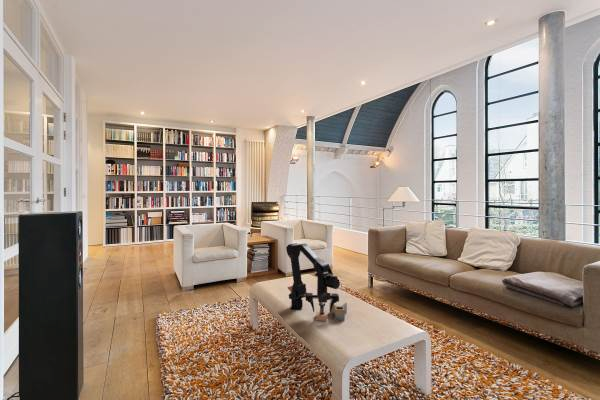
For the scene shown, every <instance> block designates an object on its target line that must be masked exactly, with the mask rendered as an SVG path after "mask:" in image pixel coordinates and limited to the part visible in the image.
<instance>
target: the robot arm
mask: <svg viewBox="0 0 600 400" xmlns="http://www.w3.org/2000/svg"><path fill="white" fill-rule="evenodd" d="M285 249H286V254H287V256H288V257H289V259H290V263H291V264H290V265H291V270H292V271H291V272H292V279H293V280H292V281H293V283H292V285H291V286H292V292H291V291H290V293H289V294H288V299H290V300H291V301H290V303H291V304H290V305H291V306H290V310H297V311H298V310H299V311H300V310H301V311H302V310H303V304H304V303H303V301H304V300H303V298H302V297H304V295H305V293H306V292H307V285H306V283H304V282H303V281H302V274H301V267H300V266H301V265H300V255H301V253H302V254H303V255H304V256H305V257H306V258H307V259H308V261H310V262H311V263H312V265H313V268H314V270H315V272H316V273H315V274H314V277H316V278H317V280H316V281H317V282H316V283H317V286H316V287H317V288H316V294H314V293H312V292H307V293H306V298H305V301H306V302H307V303H309V304H310V306H311V309H312V312H313V313H315V305H314V304H315V302H314V299H315V300H316V299H317V300H318V303H320V302H324V303H325V304H326V303H328V301H329V313H330V312H331V309H332V307H333V305H335V304H336V303H337V302H340V296H339V293H331V292H328V288H331V289H333V290H338V288H339V287H340V284H341V282H340V279H339V278H338V276H337V275H334V273H333V271H332V269H331V267H330V264H329V263H328V262H327V261H325V260H324V259H322V258H320V257H319V256H318V254H315V252H314V251H313V250H312V249H311V248H310V247H309V246H308V244H307V243H289V244H287V246H286V248H285Z"/></svg>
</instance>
